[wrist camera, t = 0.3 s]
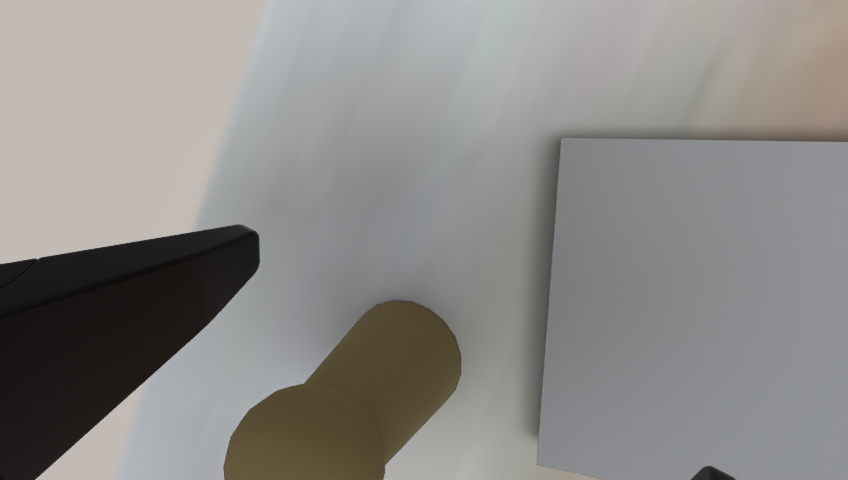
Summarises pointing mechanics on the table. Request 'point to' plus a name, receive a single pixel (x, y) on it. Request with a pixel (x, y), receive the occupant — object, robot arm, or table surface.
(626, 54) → the table surface
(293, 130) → the table surface
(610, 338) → the plinth
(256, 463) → the cork
